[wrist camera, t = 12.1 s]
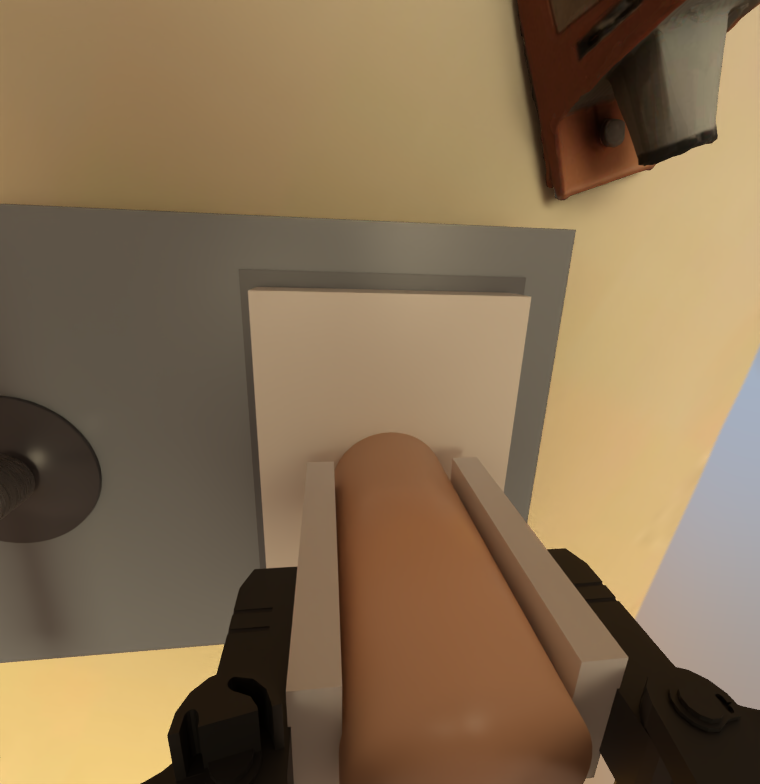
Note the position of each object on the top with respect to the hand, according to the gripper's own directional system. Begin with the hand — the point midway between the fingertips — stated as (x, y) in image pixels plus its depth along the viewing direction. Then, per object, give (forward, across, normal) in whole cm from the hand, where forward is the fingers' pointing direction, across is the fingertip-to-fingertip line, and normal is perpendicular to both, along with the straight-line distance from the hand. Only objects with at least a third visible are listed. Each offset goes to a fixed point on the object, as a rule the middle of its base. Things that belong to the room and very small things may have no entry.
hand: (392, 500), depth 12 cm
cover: (+2, 0, 0) cm, 2 cm away
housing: (+8, -4, 0) cm, 9 cm away
